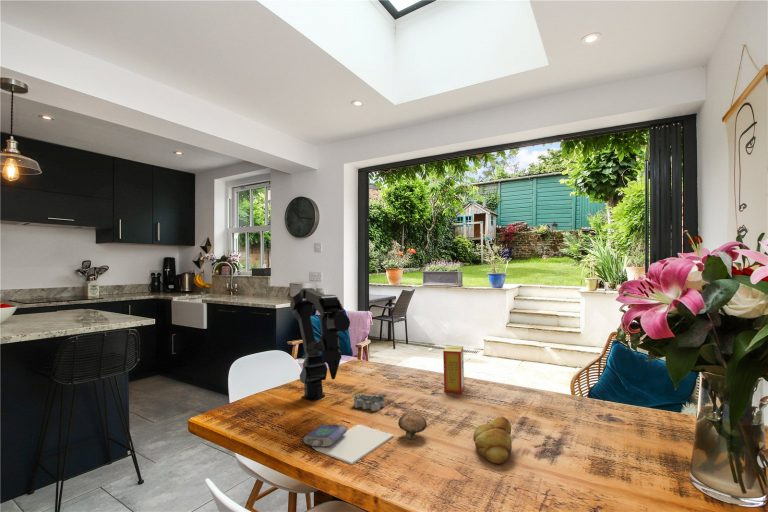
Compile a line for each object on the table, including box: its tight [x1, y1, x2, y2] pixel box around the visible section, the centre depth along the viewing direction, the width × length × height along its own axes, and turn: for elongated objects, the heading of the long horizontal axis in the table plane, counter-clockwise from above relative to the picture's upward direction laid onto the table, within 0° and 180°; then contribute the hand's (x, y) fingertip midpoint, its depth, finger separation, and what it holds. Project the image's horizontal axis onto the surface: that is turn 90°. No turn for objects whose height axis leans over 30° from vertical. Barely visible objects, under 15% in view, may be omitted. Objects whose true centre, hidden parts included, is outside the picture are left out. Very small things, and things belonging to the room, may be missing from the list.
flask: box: [303, 423, 348, 450], centre depth 104 cm, size 9×3×11 cm
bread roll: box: [472, 416, 513, 464], centre depth 96 cm, size 13×10×8 cm
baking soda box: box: [442, 345, 465, 394], centre depth 147 cm, size 10×6×16 cm
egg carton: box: [352, 393, 387, 412], centre depth 131 cm, size 11×8×4 cm
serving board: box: [314, 424, 395, 465], centre depth 103 cm, size 13×18×1 cm
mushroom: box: [397, 412, 428, 440], centre depth 107 cm, size 8×8×6 cm
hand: (333, 379), depth 126 cm, fingers closed
